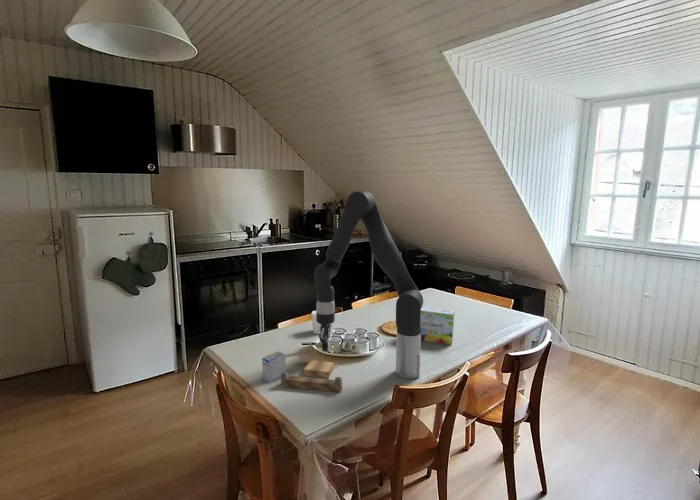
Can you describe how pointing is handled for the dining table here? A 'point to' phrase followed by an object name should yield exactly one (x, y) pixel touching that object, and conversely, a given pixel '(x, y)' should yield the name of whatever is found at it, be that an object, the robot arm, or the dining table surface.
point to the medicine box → (273, 366)
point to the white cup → (315, 323)
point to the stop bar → (311, 383)
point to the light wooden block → (319, 369)
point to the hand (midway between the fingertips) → (325, 350)
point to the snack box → (437, 325)
